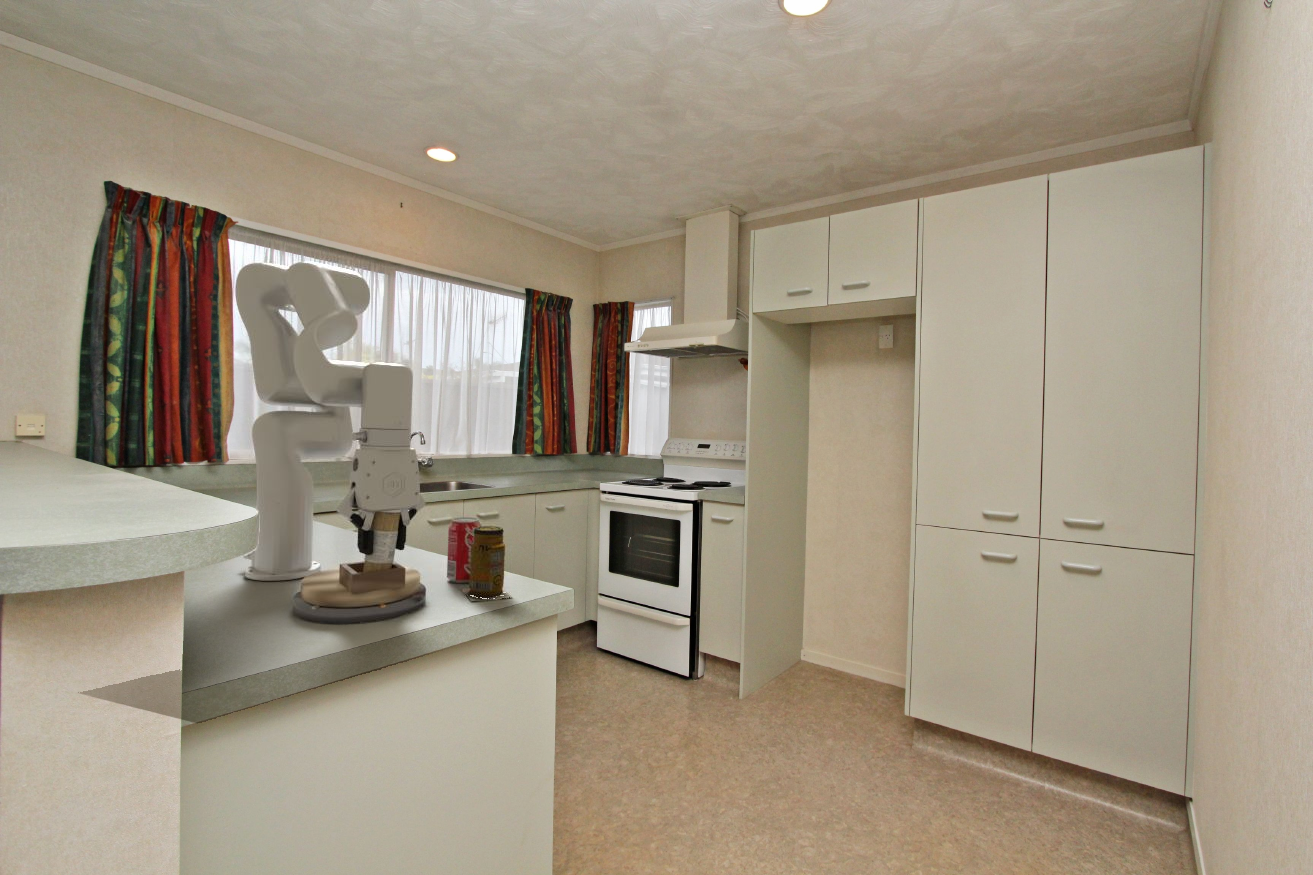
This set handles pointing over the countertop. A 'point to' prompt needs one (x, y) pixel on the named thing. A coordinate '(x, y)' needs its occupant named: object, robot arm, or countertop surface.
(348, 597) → the dial
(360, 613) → the dial plate
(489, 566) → the condiment
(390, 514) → the sprinkles bottle
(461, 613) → the countertop surface
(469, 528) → the beverage can
